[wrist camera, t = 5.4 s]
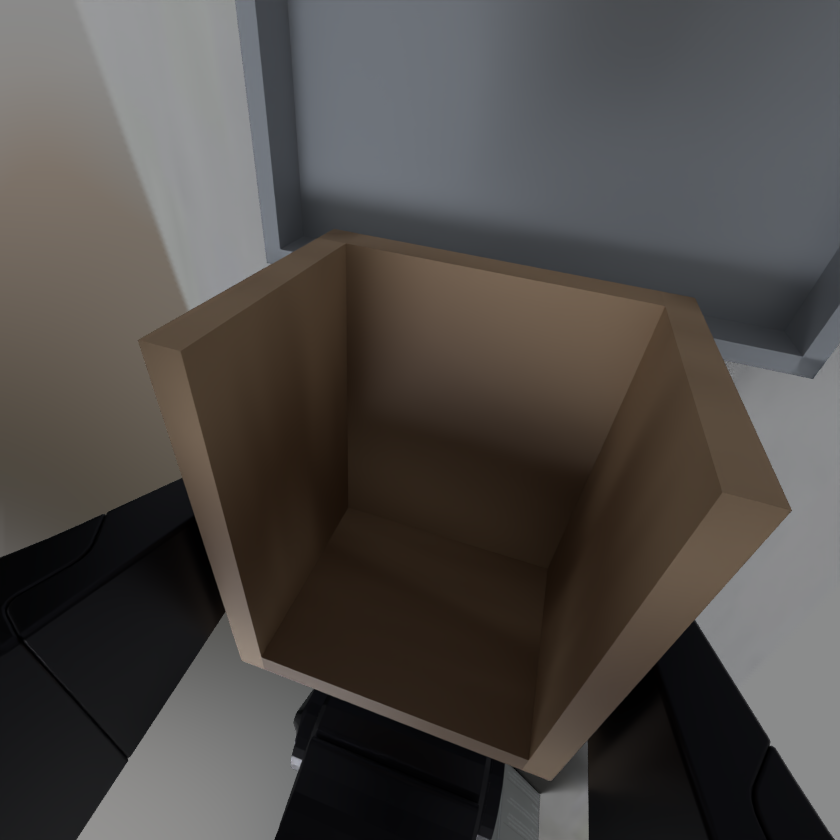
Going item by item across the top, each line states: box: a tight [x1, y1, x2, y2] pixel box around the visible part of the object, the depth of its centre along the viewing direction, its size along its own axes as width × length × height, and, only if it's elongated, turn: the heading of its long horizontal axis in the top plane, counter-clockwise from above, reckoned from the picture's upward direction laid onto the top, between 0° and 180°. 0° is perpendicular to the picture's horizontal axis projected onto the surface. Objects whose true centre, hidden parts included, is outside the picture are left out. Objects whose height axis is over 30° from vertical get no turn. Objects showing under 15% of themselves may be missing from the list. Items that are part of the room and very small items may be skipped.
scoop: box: [138, 229, 792, 781], centre depth 8 cm, size 7×6×4 cm
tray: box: [235, 0, 840, 379], centre depth 11 cm, size 15×18×2 cm
